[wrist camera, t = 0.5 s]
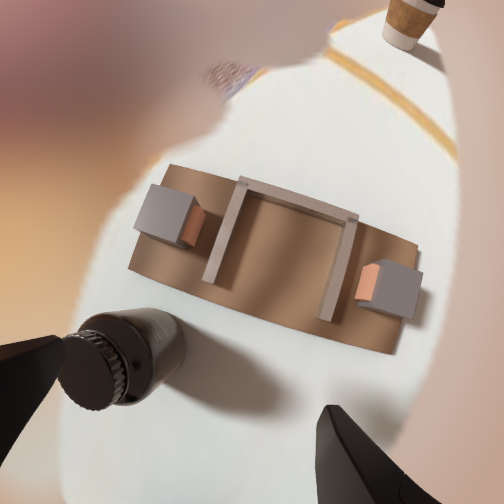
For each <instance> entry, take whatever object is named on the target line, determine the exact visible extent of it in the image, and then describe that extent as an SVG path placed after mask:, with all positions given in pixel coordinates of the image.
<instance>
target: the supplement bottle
mask: <svg viewBox="0 0 504 504" xmlns="http://www.w3.org/2000/svg"><path fill="white" fill-rule="evenodd" d="M62 340H63V342H64V346H65V351H66V355H67V361H66V363H65V365H64V367H63V368H62V370H61V372H60V373H59V375H58V381H59V382H60V384H61V387H62V388H63V389H64V391H65V393H66V394H67V395H68V396H69V397H70V399H72V400H73V401H74V402H75V403H76V404H78V405H80V406H81V407H84V408H85V409H87V410H89V409H90V410H92V411H95V410H97V411H100V410H102V409H106V408H108V407H109V406H111V405H112V404H113V405H117V406H130V405H134V404H137V403H139V402H141V401H142V400H144V399H145V398H146V397H148V396H149V395H150V394H151V393H152V392H153V391H154V390H155V389H157V388H158V387H159V386H160V385H161V384H162V383H163V382H164V381H165V380H166V379H167V378H169V377H170V376H171V375H172V374H173V373H174V372H175V371H176V370H177V369H178V368H179V366H180V365H181V363H182V361H183V359H184V356H185V351H186V343H185V338H184V334H183V332H182V330H181V328H180V326H179V325H178V323H177V322H176V321H175V320H174V319H173V318H172V317H171V316H170V315H169V314H167V313H165V312H164V311H161V310H159V309H155V308H140V309H131V310H123V311H114V312H105V313H100V314H96V315H94V316H92V317H90V318H88V319H87V320H86V321H85V322H84V323H83V324H82V325H81V326H80V328H79V330H78V331H77V333H74V334H69V335H67V336H66V337H63V339H62Z"/></svg>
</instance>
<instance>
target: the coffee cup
mask: <svg viewBox="0 0 504 504" xmlns="http://www.w3.org/2000/svg"><path fill="white" fill-rule="evenodd" d="M444 5H445V0H390V5H389V9H388V13H387V17H386V21H385V25H384V28H383V31H382V36H383V38H384V39H385V40H386V41H387V42H388V43H390V44H391V45H393V46H394V47H396V48H398V49H401V50H404V51H411V50H412V49H413V47H414V46H415V44H416V43H417V41H418V40H419V38H421V36H422V35H423V33H424V32H425V31H426V29H427V28H428V27H429V25H430V24H431V23H432V21H433V20H434V18H435V17H436V15H437V12H438V11H439V9H440V8H443V7H444Z"/></svg>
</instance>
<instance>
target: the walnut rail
mask: <svg viewBox="0 0 504 504" xmlns="http://www.w3.org/2000/svg"><path fill="white" fill-rule="evenodd" d="M358 219H359V215H358V214H355V213H353V212H350V211H347V210H345V209H342V208H339V207H336V206H333V205H331V204H328V203H325V202H322V201H319V200H316V199H313V198H310V197H307V196H304V195H301V194H298V193H295V192H292V191H289V190H286V189H283V188H280V187H276V186H273V185H270V184H267V183H263V182H260V181H257V180H253V179H250V178H246V177H243V176H240V177H239V180H238V181H234V180H231V179H227V178H223V177H220V176H216V175H212V174H209V173H205V172H201V171H197V170H193V169H189V168H185V167H181V166H177V165H173V164H170V165H169V167H168V169H167V171H166V173H165V176H164V178H163V180H162V182H161V185H160V186H159V185H155V184H151V186H150V189H149V191H148V193H147V195H146V198H145V200H144V203H143V205H142V207H141V210H140V212H139V215H138V217H137V220H136V222H135V225H134V227H133V228H134V229H136V230H138V231H139V232H141V233H140V236H139V238H138V241H137V244H136V247H135V249H134V252H133V255H132V258H131V261H130V264H129V267H128V269H129V270H132V271H134V272H136V273H139V274H141V275H144V276H146V277H149V278H151V279H153V280H156V281H158V282H161V283H164V284H166V285H169V286H171V287H174V288H176V289H179V290H182V291H184V292H187V293H190V294H192V295H195V296H198V297H200V298H203V299H206V300H209V301H211V302H214V303H217V304H220V305H223V306H225V307H228V308H231V309H234V310H237V311H240V312H243V313H246V314H249V315H252V316H255V317H258V318H261V319H264V320H267V321H270V322H274V323H277V324H280V325H283V326H286V327H290V328H293V329H296V330H300V331H303V332H306V333H310V334H313V335H317V336H320V337H324V338H327V339H331V340H335V341H338V342H342V343H346V344H350V345H354V346H357V347H361V348H365V349H369V350H373V351H378V352H382V353H386V354H390V355H391V352H392V349H393V346H394V343H395V340H396V337H397V334H398V330H399V327H400V324H401V320H402V318H407V319H413V315H414V312H415V308H416V304H417V300H418V295H419V291H420V286H421V282H422V277H423V272H420V271H417V270H415V269H414V266H415V260H416V255H417V249H418V245H416V244H414V243H412V242H409V241H407V240H404V239H402V238H400V237H397V236H395V235H392V234H390V233H387V232H385V231H382V230H380V229H377V228H375V227H372V226H369V225H367V224H364V223H362V222H359V221H358Z"/></svg>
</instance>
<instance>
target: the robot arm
mask: <svg viewBox="0 0 504 504" xmlns="http://www.w3.org/2000/svg"><path fill="white" fill-rule="evenodd" d="M66 361H67V355H66V351H65V346H64V342H63V340H62V339H61V338H60V337H58V336H56V335H50V336H45V337H40V338H36V339H30V340H26V341H21V342H16V343H11V344H6V345H1V346H0V467H1V465H2V463H3V461H4V460H5V458H6V456H7V454H8V453H9V451H10V449H11V448H12V446H13V444H14V443H15V441H16V440H17V438H18V436H19V435H20V433H21V432H22V430H23V429H24V427H25V426H26V424H27V423H28V421H29V420H30V418H31V416H32V415H33V413H34V412H35V411H36V409H37V408H38V406H39V405H40V404H41V402H42V401H43V399H44V398H45V397H46V395H47V394H48V392H49V391H50V389H51V387H52V386H53V384H54V382H55V380H56V379H57V377H58V375H59V373H60V372H61V370H62V368H63V367H64V365H65V363H66ZM315 472H316V484H317V496H318V504H442V503H440V502H438V501H437V500H436V499H434V498H433V497H432V496H430V495H429V494H428V493H427V492H425V491H424V490H423V489H422V488H421V487H419V486H418V485H417V484H416V483H415V482H414V481H413V480H412V479H410V477H409V476H408V475H407V474H404V472H403V471H402V470H401V469H400V468H399V467H398V466H397V465H396V464H395V463H394V462H393V461H392V460H391V459H390V458H389V457H388V456H387V455H386V454H385V453H384V452H383V451H382V450H381V449H380V448H379V447H378V446H377V445H376V444H375V443H374V442H373V441H372V439H371V438H370V437H369V436H368V435H367V434H366V433H365V432H364V431H363V430H362V429H361V428H360V427H359V426H358V425H357V424H356V423H355V422H354V421H353V420H352V419H351V417H350V416H349V415H348V414H347V413H346V412H345V411H344V410H343V409H342V408H341V407H340V406H339V405H326V406H325V407H324V409H323V411H322V413H321V416H320V418H319V420H318V422H317V427H316V457H315Z"/></svg>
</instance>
